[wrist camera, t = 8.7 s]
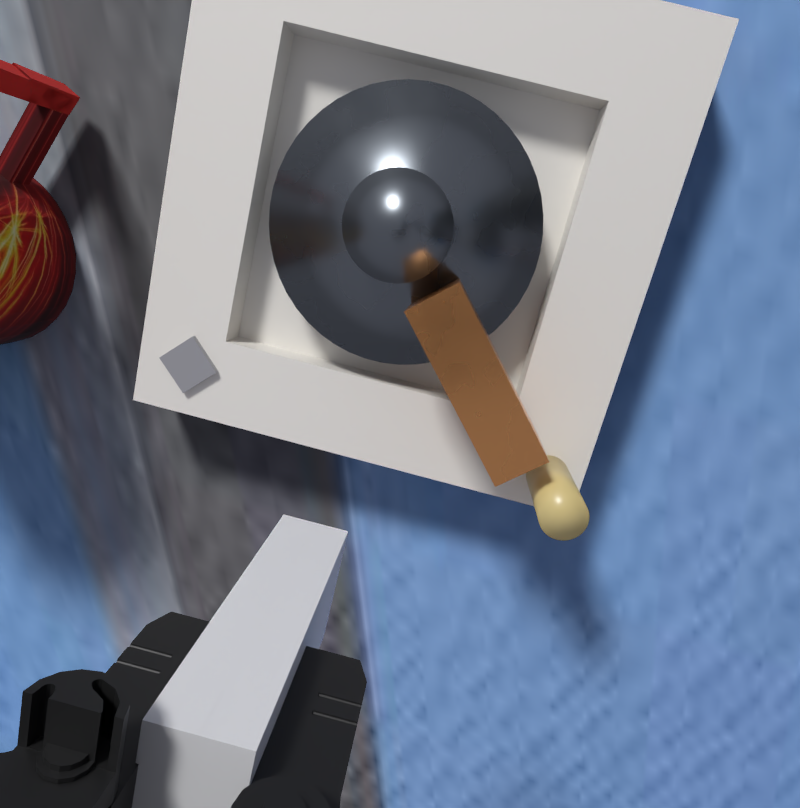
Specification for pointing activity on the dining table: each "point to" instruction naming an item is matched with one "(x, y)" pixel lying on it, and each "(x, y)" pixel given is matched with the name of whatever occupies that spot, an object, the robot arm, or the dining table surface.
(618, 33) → the housing
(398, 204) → the dial
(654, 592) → the dining table surface
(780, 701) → the dining table surface
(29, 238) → the mug
